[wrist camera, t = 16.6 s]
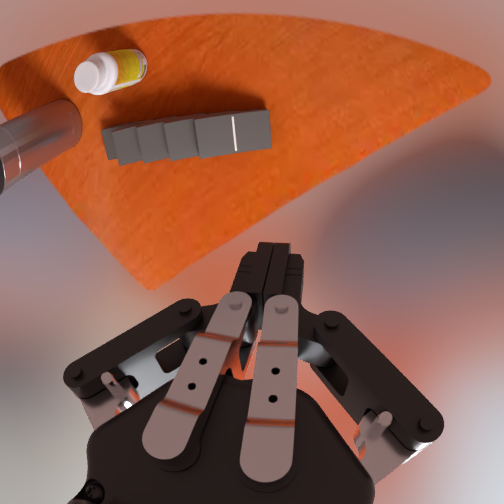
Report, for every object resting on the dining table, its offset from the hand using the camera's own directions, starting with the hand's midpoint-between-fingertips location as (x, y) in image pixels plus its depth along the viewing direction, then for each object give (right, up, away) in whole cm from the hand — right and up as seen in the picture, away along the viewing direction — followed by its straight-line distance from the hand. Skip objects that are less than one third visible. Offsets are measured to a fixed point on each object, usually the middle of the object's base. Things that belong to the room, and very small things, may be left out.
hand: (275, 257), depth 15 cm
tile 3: (-7, +16, +23) cm, 29 cm away
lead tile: (+1, +16, +21) cm, 26 cm away
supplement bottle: (-18, +26, +19) cm, 37 cm away
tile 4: (-11, +16, +24) cm, 31 cm away
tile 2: (-3, +16, +22) cm, 27 cm away
